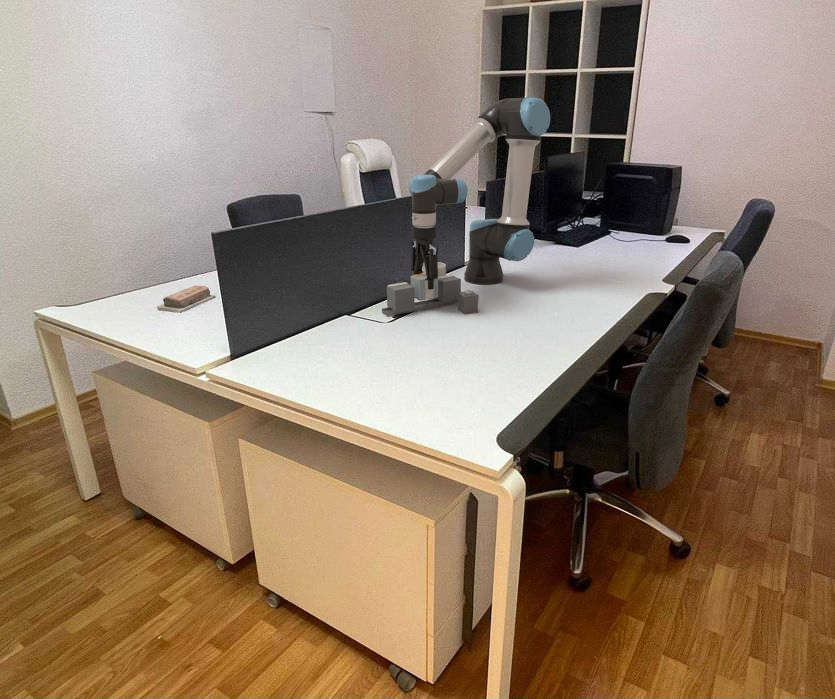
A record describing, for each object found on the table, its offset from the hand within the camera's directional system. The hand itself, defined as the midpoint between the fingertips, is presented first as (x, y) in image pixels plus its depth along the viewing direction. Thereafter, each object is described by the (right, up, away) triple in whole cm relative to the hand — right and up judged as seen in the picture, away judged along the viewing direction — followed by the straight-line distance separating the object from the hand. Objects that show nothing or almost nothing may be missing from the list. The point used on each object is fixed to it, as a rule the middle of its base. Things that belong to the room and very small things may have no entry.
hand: (424, 295), depth 187 cm
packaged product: (-82, -3, +9) cm, 83 cm away
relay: (+14, -5, -3) cm, 16 cm away
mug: (+3, +2, +16) cm, 16 cm away
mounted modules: (0, -2, +1) cm, 2 cm away
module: (0, 0, 0) cm, 0 cm away
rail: (0, -4, +2) cm, 4 cm away
